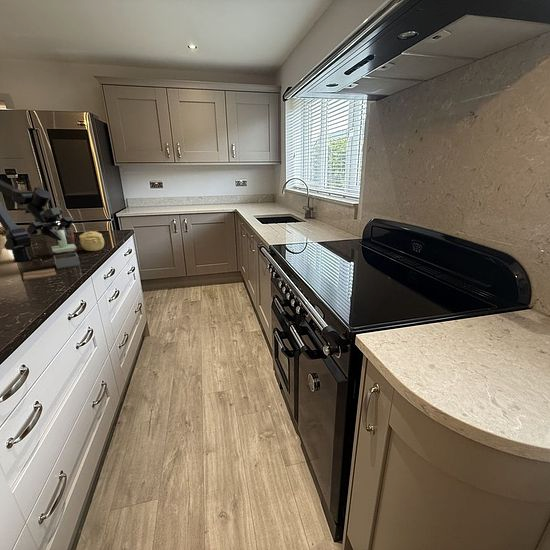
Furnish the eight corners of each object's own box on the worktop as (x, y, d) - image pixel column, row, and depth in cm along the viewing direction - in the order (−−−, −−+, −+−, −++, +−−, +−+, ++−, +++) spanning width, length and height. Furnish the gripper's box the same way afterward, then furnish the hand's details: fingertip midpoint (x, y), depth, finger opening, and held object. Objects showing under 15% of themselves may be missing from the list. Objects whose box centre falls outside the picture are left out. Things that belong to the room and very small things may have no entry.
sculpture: (80, 253, 163) (76, 233, 159) (84, 248, 173) (80, 230, 170) (104, 251, 167) (101, 232, 164) (106, 246, 178) (102, 228, 174)
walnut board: (23, 274, 130) (23, 272, 130) (54, 269, 136) (54, 267, 136) (23, 280, 122) (23, 279, 122) (56, 275, 128) (56, 273, 128)
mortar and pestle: (82, 254, 161) (74, 216, 155) (64, 257, 155) (54, 218, 149) (74, 250, 168) (66, 214, 162) (56, 253, 162) (47, 216, 156)
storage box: (55, 264, 143) (53, 255, 141) (77, 261, 148) (75, 252, 147) (57, 269, 136) (54, 259, 135) (80, 265, 142) (78, 256, 140)
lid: (52, 249, 140) (47, 230, 137) (74, 247, 146) (70, 227, 143) (53, 253, 134) (48, 233, 131) (77, 250, 139) (72, 230, 136)
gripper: (24, 203, 125) (50, 231, 126) (65, 199, 142) (88, 224, 143) (16, 221, 130) (41, 248, 131) (57, 215, 147) (79, 239, 147)
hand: (64, 239), depth 138 cm, fingers closed on lid, 3 cm apart
